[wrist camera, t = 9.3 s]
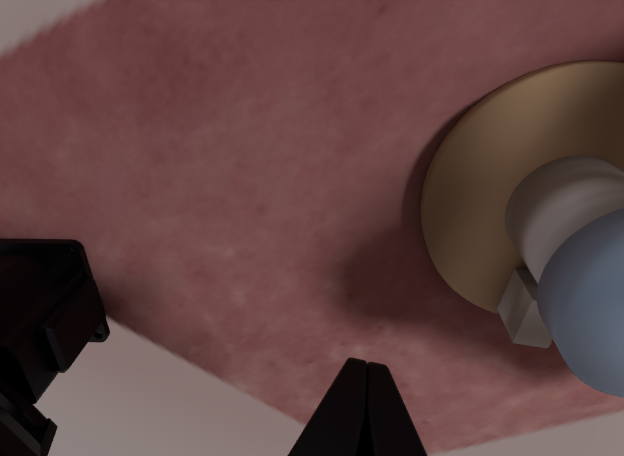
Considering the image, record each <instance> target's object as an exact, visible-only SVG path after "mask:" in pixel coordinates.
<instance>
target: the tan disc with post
mask: <svg viewBox="0 0 624 456" xmlns="http://www.w3.org/2000/svg"><path fill="white" fill-rule="evenodd" d="M621 208H624V63H622V62H617V61H608V60H582V61H570V62H566V63H561V64H556V65H551V66H547V67H544V68H541V69H538V70H535V71H532V72H529V73H527V74H525V75H523V76H520V77H518V78H516V79H514V80H512V81H510V82H508V83H506V84H504V85H503V86H501V87H500V88H498V89H496V90H495V91H493V92H491V93H490V94H488V95H487V96H486V97H485V98H483V99H482V100H481V101H479V102H478V103H477V104H475V105H474V106H473V107H472V108H471V109H470V110H469V111H468V112H467V113H466V114H465V115H464V116H463V117H462V118H461V119H460V120H459V121H458V122H457V123H456V124H455V125H454V127H453V128H452V129H451V130H450V132H449V133H448V134H447V135H446V137H445V138H444V140H443V141H442V143H441V144H440V146H439V148H438V149H437V151H436V153H435V155H434V157H433V159H432V161H431V163H430V165H429V168H428V170H427V174H426V177H425V180H424V183H423V188H422V194H421V200H420V218H421V226H422V231H423V235H424V238H425V242H426V245H427V249H428V252H429V255H430V257H431V259H432V261H433V264H434V266H435V268H436V269H437V271H438V272H439V273H440V275H441V276H442V278H443V279H444V280H445V281H446V282H447V284H448V285H449V286H450V287H451V288H452V289H453V290H454V291H456V292H457V293H458V294H459V295H461V296H462V297H463V298H464V299H466V300H468V301H469V302H471V303H473V304H474V305H476V306H478V307H481V308H483V309H485V310H487V311H490V312H493V313H496V314H499V315H500V316H501V318H502V321H503V323H504V325H505V327H506V330H507V332H508V334H509V337H510V339H511V341H512V343H516V344H522V345H528V346H534V347H540V348H546V349H548V348H549V346H550V344H551V342H552V340H553V339H552V337H551V335H550V333H549V332H548V330H547V328H546V326H545V325H544V323H543V321H542V319H541V316H540V314H539V311H538V306H537V288H538V283H539V280H540V276H541V274H542V272H543V270H544V267H545V266H546V264H547V262H548V261H549V259H550V258H551V256H552V255H553V254H554V252H555V251H556V250H557V249H558V247H559V246H560V245H561V244H562V243H563V242H564V241H565V240H566V239H567V238H569V237H570V236H571V235H572V234H574V233H575V232H576V231H577V230H579V229H580V228H582V227H583V226H585V225H586V224H588V223H589V222H591V221H593V220H595V219H597V218H599V217H601V216H603V215H605V214H608V213H610V212H613V211H615V210H618V209H621Z"/></svg>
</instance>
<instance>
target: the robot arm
mask: <svg viewBox="0 0 624 456" xmlns="http://www.w3.org/2000/svg"><path fill="white" fill-rule="evenodd" d="M70 248H72V249H73V250H74V251H75V252H73V251H72V250H71V249H70ZM98 332H99V333H98ZM100 333H101V334H100ZM109 334H110V330H109V327H108V324H107V321H106V315H105V311H104V308H103V305H102V302H101V298H100V295H99V292H98V289H97V285H96V282H95V280H94V279H93V275H92V272H91V269H90V266H89V263H88V259H87V256H86V253H85V250H84V247H83V245H82V244H81V243H80V242H78V241H76V240H57V239H0V456H47V455H48V453H49V450H50V447H51V444H52V441H53V438H54V436H55V433H56V430H57V425H56V424H55V423H54V422H53V421H51V419H49V418H48V419H47V418H46V417H45V416H43V414H42V413H41V412H40V411H39V410H38V409H37V408H36V407H35V406H34V405H33V404H35V403H36V402H37V401H38V400H39V398H40V397H41V396H42V394H43V393H44V392H45V390H46V389H47V388H48V386H49V385H50V383H51V382H52V381H53V379H54V378H55V377H56V375H57V374H58V373H64V372H66V371H67V370H68V369H69V368H70V366H71V365H72V363H73V362H74V361H75V359H76V358H77V356H78V355H79V354H80V352H81V351H82V350H83V348H84V347H85V345H86V344H87V343H88V342H104V341H106V339H107V338H108V336H109ZM288 456H427V454H426V451H425V449H424V447H423V445H422V442H421V440H420V438H419V436H418V433H417V431H416V429H415V427H414V424H413V422H412V420H411V418H410V415H409V413H408V411H407V409H406V406H405V404H404V402H403V400H402V397H401V395H400V393H399V391H398V389H397V386H396V384H395V382H394V380H393V377H392V375H391V373H390V371H389V369H388V367H387V366H386V365H384V364H380V363H375V362H368V363H367V362H366V361H365V360H361V359H356V358H348V359H347V360H346V362H345V364H344V365H343V367H342V368H341V370H340V372H339V373H338V375H337V376H336V378H335V380H334V381H333V383H332V385H331V386H330V388H329V389H328V391H327V393H326V394H325V396H324V398H323V399H322V401H321V402H320V404H319V406H318V407H317V409H316V411H315V412H314V414H313V415H312V417H311V419H310V420H309V422H308V423H307V425H306V427H305V428H304V430H303V432H302V433H301V435H300V437H299V438H298V440H297V442H296V443H295V445H294V446H293V448H292V450H291V451H290V453H289V454H288Z"/></svg>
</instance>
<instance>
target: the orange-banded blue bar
mask: <svg viewBox="0 0 624 456" xmlns="http://www.w3.org/2000/svg"><path fill="white" fill-rule="evenodd" d="M537 306H538V311H539V314H540V316H541V319H542V321H543V323H544V325H545V326H546V328H547V330H548V332H549V333H550V335H551V337H552V339H553V341H554V342H555V344H556V346H557V348H558V350H559V351H560V353H561V355H562V357H563V359H564V360H565V362H566V364H567V365H568V367H569V368H570V370H571V371H572V372H573V373H574V374H575V375H576V376H577V377H578V378H579V379H580V380H581V381H583V382H584V383H585V384H587V385H589V386H590V387H592V388H594V389H596V390H599V391H601V392H604V393H607V394H610V395H614V396H618V397H624V208H621V209H618V210H615V211H613V212H610V213H608V214H605V215H603V216H601V217H599V218H597V219H595V220H593V221H591V222H589V223H588V224H586V225H585V226H583V227H582V228H580V229H579V230H577V231H576V232H575V233H574V234H572V235H571V236H570V237H569V238H567V239H566V240H565V241H564V242H563V243H562V244H561V245H560V246H559V247H558V249H557V250H556V251H555V252H554V254H553V255H552V256H551V258H550V259H549V261H548V262H547V264H546V266H545V267H544V270H543V272H542V274H541V276H540V280H539V283H538V288H537Z"/></svg>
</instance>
